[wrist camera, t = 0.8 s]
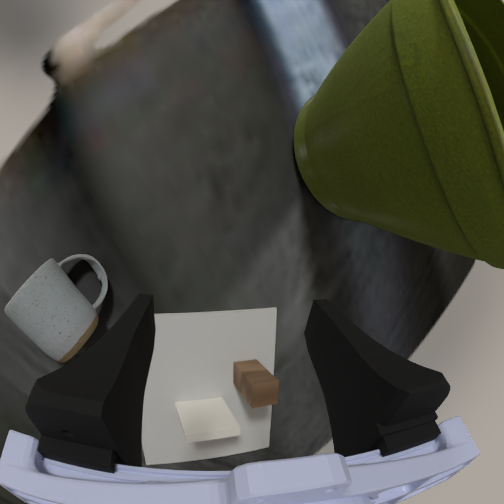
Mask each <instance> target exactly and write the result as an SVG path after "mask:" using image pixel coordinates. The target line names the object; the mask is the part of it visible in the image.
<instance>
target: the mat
mask: <svg viewBox="0 0 504 504" xmlns="http://www.w3.org/2000/svg"><path fill="white" fill-rule="evenodd" d="M276 313H277V308H276V307H273V308H260V309H246V310H231V311H214V312H193V313H168V314H154V317H155V327H156V333H155V342H154V351H153V355H152V360H151V364H150V369H149V374H148V378H147V383H146V388H145V394H144V403H143V417H142V446H143V451H144V456H145V460H146V465H153V464H166V463H177V462H187V461H195V460H202V459H209V458H216V457H222V456H228V455H233V454H239V453H244V452H249V451H254V450H258V449H263V448H267V447H269V438H270V424H271V409H272V405H269V406H264V407H258V408H253V409H252V408H251V406H250V405H249V404H248V402H247V401H246V400H245V398H244V397H243V396H242V394H241V393H240V392H239V390H238V389H237V387H236V386H235V385H234V383H233V362H238V361H246V360H254V359H257V360H258V361H259V362H260V363H261V364H262V365H263V366H264V367H265V368H266V369H267V370H268V371H269V372H270V373H271V374H272V375H274V356H275V336H276ZM220 397H222V398H223V400H224V401H225V403H226V405H227V406H228V408H229V410H230V411H231V413H232V414H233V416H234V418H235V419H236V421H237V422H238V424H239V425H240V435H238V436H232V437H226V438H220V439H213V440H206V441H199V442H190V443H186V441H185V438H184V435H183V432H182V429H181V425H180V422H179V419H178V416H177V413H176V408H175V402H183V401H193V400H203V399H212V398H220Z"/></svg>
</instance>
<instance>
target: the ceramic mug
mask: <svg viewBox="0 0 504 504" xmlns="http://www.w3.org/2000/svg"><path fill="white" fill-rule="evenodd" d="M78 259H82V260H86V261H87V262H88V263H90V265H91V266H92V268H93V269H94V270H95V272H96V274H97V275H98V279H99V280H100V281H101V282H102V291H101V294H100V295H99V298H98V299H97V301H96V302H95V303H94V304H93V305H91V303H90V302H89V301H88V300H87V299H86V298H85V297H84V296H83V294H82V293H81V292H80V291H79V290H78V289H77V288H76V286H75V285H74V284H73V282H72V281H71V280H70V279H69V277H68V276H67V275H66V274H65V272H64V271H63V270H62V266H63V265H65V264H67V263H68V262H71V261H73V260H78ZM107 289H108V280H107V275H106V273H105V270H104V269H103V267H102V266H101V264H100V263H99V262H98V261H97V260H96V259H95V258H94V257H92V256H89V255H86V254H77V255H73V256H70V257H68V258H66V259H64V260H63V261H61V262H60V263H57V262H56V261H55V260H54V259H49V260H48V261H46V262H45V263H44V264H43V265H42V266H41V267H40V268H39V269H37V270H36V271H35V272H34V273H33V274H32V276H31V277H30V278H29V279H28V280H27V281H26V282H25V283H24V284H23V285H22V286H21V288H20V289H19V290H18V291H17V292H16V294H15V295H14V296H13V298H12V299H11V300H10V301H9V303H8V304H7V305H6V307H5V313H6V315H7V316H8V317H9V318H10V319H11V320H12V321H13V322H14V323H15V324H16V325H17V326H18V327H19V328H20V329H21V330H22V331H23V332H24V333H25V334H26V335H27V336H28V337H29V338H30V339H31V340H32V341H33V342H34V343H35V344H36V345H37V346H38V347H39V348H40V349H41V350H42V351H43V352H45V353H46V354H47V355H48V356H50V357H51V358H53V359H54V360H56V361H57V362H66V361H68V360H69V359H71V358H72V357H73V356H74V355H75V354H76V353H77V352H78V351H79V350H80V348H81V347H82V346H83V345H84V344H85V342H86V341H87V340H88V339H89V337H90V336H91V335H92V333H93V332H94V330H95V328H96V327H97V324H98V314H97V312H96V308H97V307H98V306H99V305H100V304H101V303H102V301H103V299H104V298H105V295H106V293H107Z"/></svg>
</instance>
